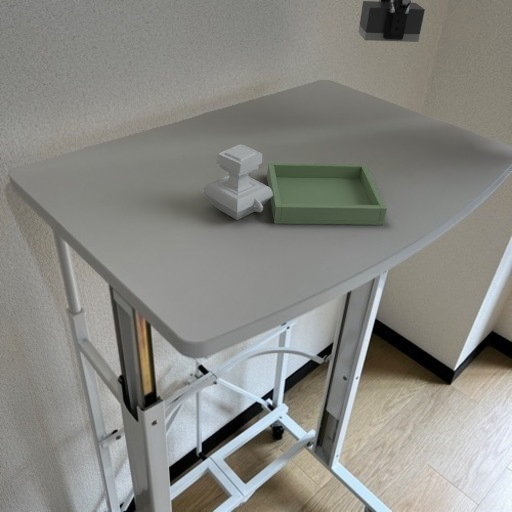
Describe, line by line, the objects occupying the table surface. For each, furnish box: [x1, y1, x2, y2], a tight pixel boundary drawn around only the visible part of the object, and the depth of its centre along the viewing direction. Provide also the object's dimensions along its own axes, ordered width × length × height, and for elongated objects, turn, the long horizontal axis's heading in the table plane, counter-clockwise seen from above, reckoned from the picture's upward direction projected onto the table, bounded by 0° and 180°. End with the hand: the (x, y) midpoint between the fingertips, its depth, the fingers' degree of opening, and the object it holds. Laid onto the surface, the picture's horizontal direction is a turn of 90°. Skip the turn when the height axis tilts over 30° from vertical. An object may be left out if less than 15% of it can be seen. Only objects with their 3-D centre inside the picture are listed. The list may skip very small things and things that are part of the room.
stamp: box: [202, 143, 273, 221], centre depth 72 cm, size 9×7×8 cm
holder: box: [266, 162, 387, 226], centre depth 77 cm, size 15×13×3 cm
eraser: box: [358, 0, 426, 43], centre depth 91 cm, size 9×5×5 cm, turn 93°
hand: (388, 33), depth 92 cm, fingers closed on eraser, 5 cm apart
